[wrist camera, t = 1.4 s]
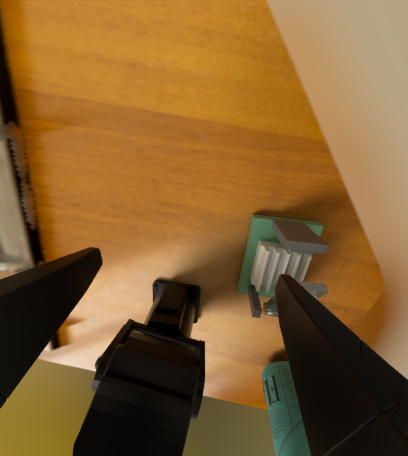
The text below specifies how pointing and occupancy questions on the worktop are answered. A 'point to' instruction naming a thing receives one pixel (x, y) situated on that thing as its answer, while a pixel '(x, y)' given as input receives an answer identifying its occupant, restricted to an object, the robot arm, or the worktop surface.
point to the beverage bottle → (284, 411)
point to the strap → (312, 288)
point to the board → (277, 254)
